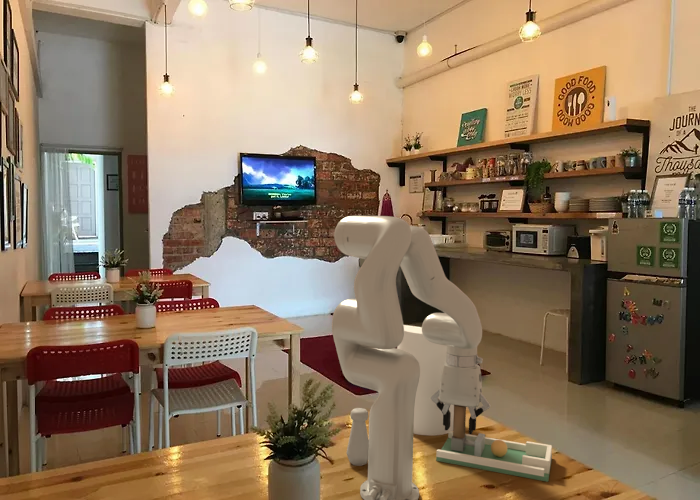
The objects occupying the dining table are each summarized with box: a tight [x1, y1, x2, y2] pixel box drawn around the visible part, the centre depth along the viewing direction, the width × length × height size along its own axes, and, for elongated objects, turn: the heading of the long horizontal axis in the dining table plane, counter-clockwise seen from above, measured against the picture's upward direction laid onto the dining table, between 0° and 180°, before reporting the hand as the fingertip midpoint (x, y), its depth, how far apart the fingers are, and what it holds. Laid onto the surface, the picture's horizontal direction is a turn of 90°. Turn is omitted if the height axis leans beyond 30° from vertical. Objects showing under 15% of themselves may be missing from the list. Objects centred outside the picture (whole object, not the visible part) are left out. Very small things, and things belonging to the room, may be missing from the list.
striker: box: [451, 405, 486, 457], centre depth 142 cm, size 6×8×11 cm
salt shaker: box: [346, 407, 369, 467], centre depth 137 cm, size 6×6×13 cm
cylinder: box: [396, 324, 454, 436], centre depth 163 cm, size 17×17×28 cm
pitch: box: [435, 431, 553, 483], centre depth 140 cm, size 14×26×4 cm, turn 67°
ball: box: [491, 439, 508, 457], centre depth 140 cm, size 4×4×4 cm
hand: (459, 429), depth 143 cm, fingers open, 5 cm apart
